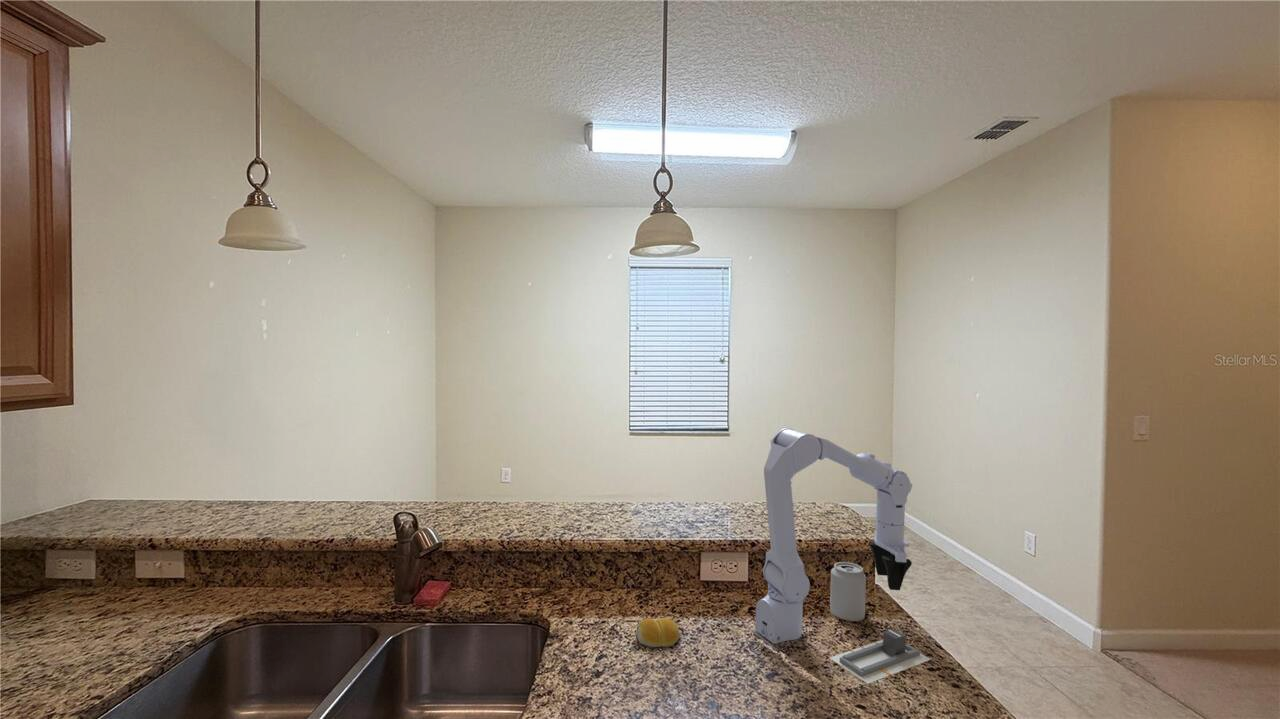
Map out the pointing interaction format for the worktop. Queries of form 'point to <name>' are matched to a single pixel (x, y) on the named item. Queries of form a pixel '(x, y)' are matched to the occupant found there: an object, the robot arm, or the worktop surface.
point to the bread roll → (657, 632)
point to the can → (848, 591)
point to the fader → (893, 642)
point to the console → (878, 661)
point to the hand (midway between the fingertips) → (888, 581)
